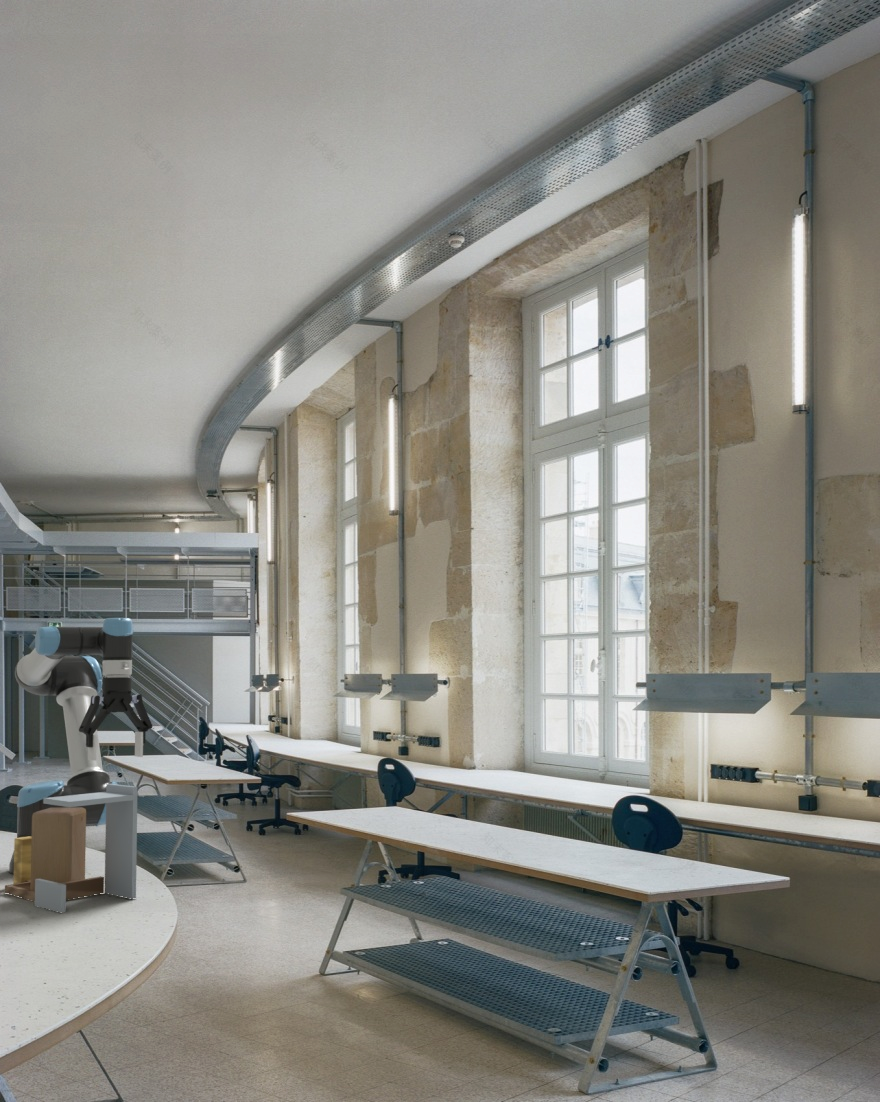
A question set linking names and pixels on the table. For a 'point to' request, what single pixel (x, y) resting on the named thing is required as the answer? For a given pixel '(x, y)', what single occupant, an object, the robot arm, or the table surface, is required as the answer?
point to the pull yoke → (24, 876)
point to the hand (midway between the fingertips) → (115, 758)
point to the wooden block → (58, 845)
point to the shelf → (116, 844)
